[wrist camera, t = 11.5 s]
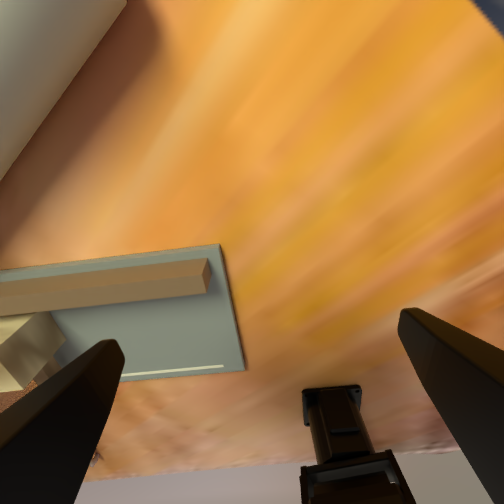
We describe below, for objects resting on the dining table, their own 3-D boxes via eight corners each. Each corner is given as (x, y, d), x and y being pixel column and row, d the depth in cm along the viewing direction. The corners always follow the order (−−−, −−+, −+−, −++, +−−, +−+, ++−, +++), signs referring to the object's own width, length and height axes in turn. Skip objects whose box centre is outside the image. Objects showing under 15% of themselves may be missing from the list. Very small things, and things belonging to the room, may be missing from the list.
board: (244, 363, 26) (243, 394, 23) (46, 382, 27) (21, 413, 24) (219, 243, 20) (213, 264, 17) (-37, 274, 21) (-84, 298, 18)
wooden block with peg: (93, 381, 26) (61, 434, 21) (56, 385, 26) (17, 439, 21) (44, 305, 21) (-9, 352, 17) (0, 311, 21) (-64, 359, 17)
